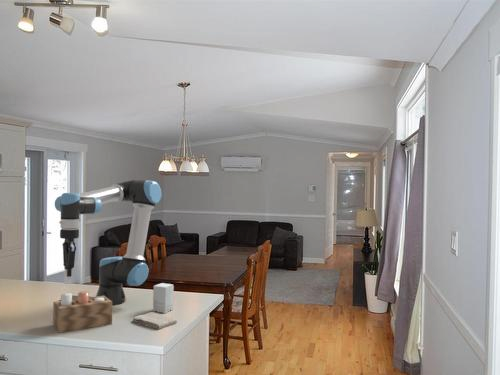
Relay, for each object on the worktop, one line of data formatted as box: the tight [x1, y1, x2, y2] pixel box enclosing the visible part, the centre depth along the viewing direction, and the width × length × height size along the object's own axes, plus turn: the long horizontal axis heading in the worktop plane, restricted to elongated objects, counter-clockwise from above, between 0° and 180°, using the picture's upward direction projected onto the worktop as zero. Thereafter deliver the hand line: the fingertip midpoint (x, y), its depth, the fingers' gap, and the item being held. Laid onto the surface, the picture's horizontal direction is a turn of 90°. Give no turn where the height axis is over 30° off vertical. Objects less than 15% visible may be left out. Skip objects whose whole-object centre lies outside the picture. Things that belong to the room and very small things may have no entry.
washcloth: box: [132, 311, 178, 330], centre depth 205 cm, size 12×18×3 cm, turn 56°
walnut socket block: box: [52, 296, 113, 333], centre depth 200 cm, size 22×12×10 cm, turn 125°
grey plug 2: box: [94, 298, 104, 302], centre depth 204 cm, size 4×4×9 cm
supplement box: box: [152, 282, 175, 314], centre depth 224 cm, size 7×7×13 cm
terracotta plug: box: [77, 290, 90, 304], centre depth 200 cm, size 4×4×9 cm
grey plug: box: [60, 292, 73, 306], centre depth 196 cm, size 4×4×9 cm
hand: (68, 283), depth 196 cm, fingers closed
